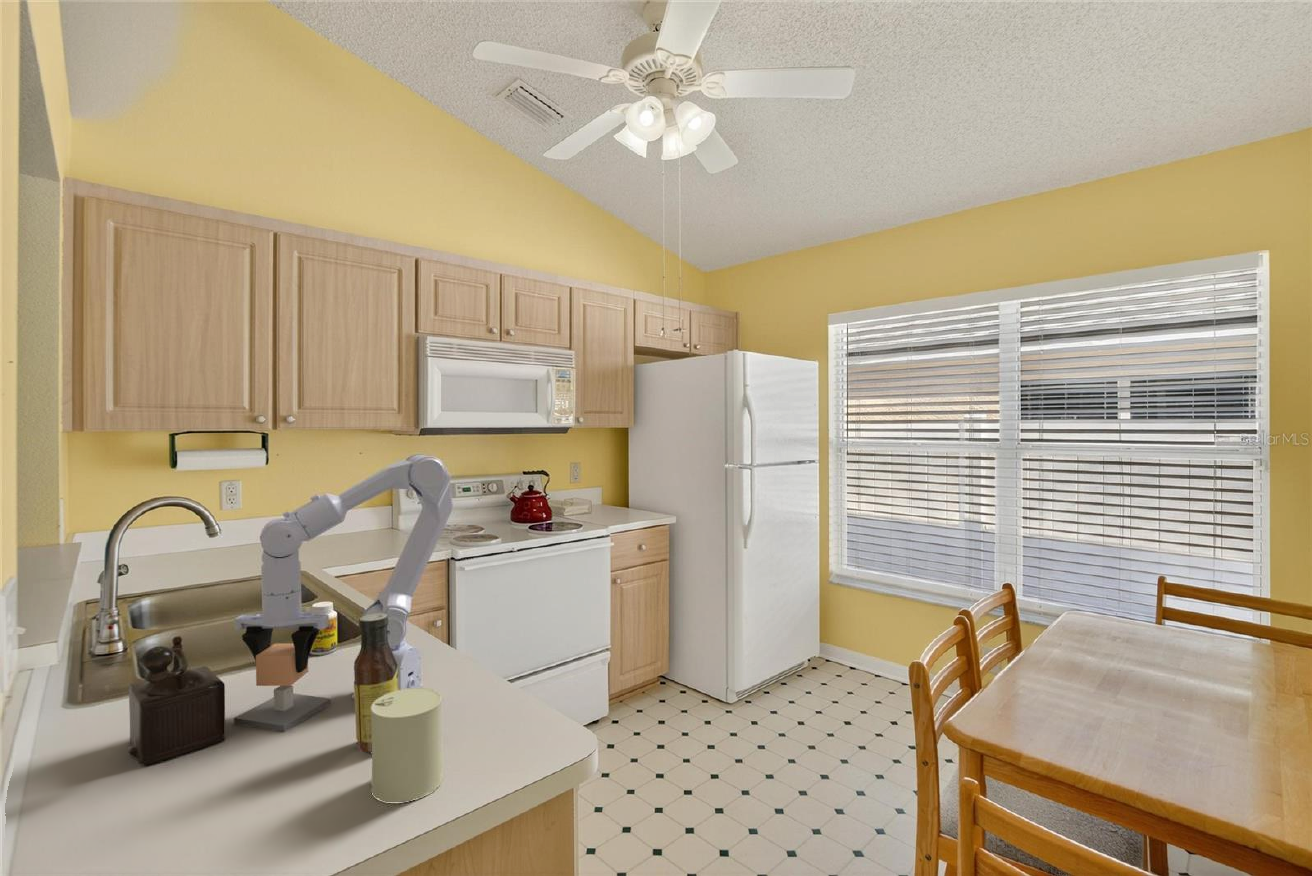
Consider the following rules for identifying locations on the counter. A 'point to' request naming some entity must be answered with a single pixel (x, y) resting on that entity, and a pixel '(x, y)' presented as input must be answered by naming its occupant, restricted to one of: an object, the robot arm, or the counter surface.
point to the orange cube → (277, 666)
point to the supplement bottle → (325, 630)
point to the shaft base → (282, 710)
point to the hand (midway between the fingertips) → (283, 670)
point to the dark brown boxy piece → (174, 707)
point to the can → (406, 744)
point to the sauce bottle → (372, 674)
